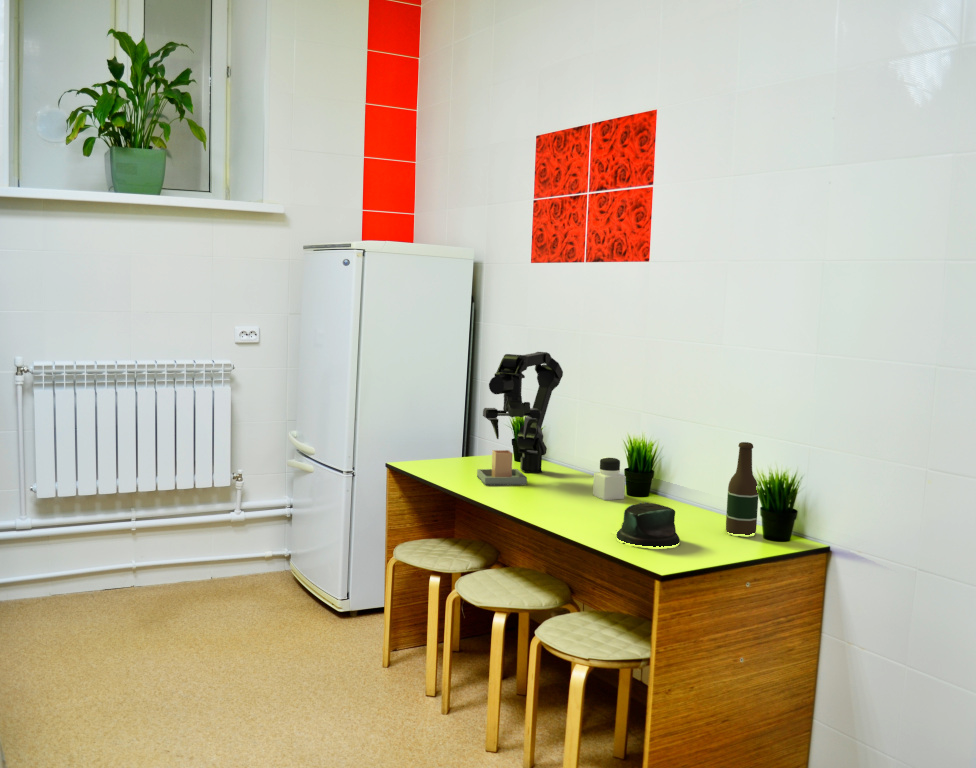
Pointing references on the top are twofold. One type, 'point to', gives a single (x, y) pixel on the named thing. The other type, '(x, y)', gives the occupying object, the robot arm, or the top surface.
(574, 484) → the top surface
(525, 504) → the top surface
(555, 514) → the top surface
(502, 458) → the terracotta cup
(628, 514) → the dark green bucket hat
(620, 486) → the medicine bottle
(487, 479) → the tray
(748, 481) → the beer bottle
